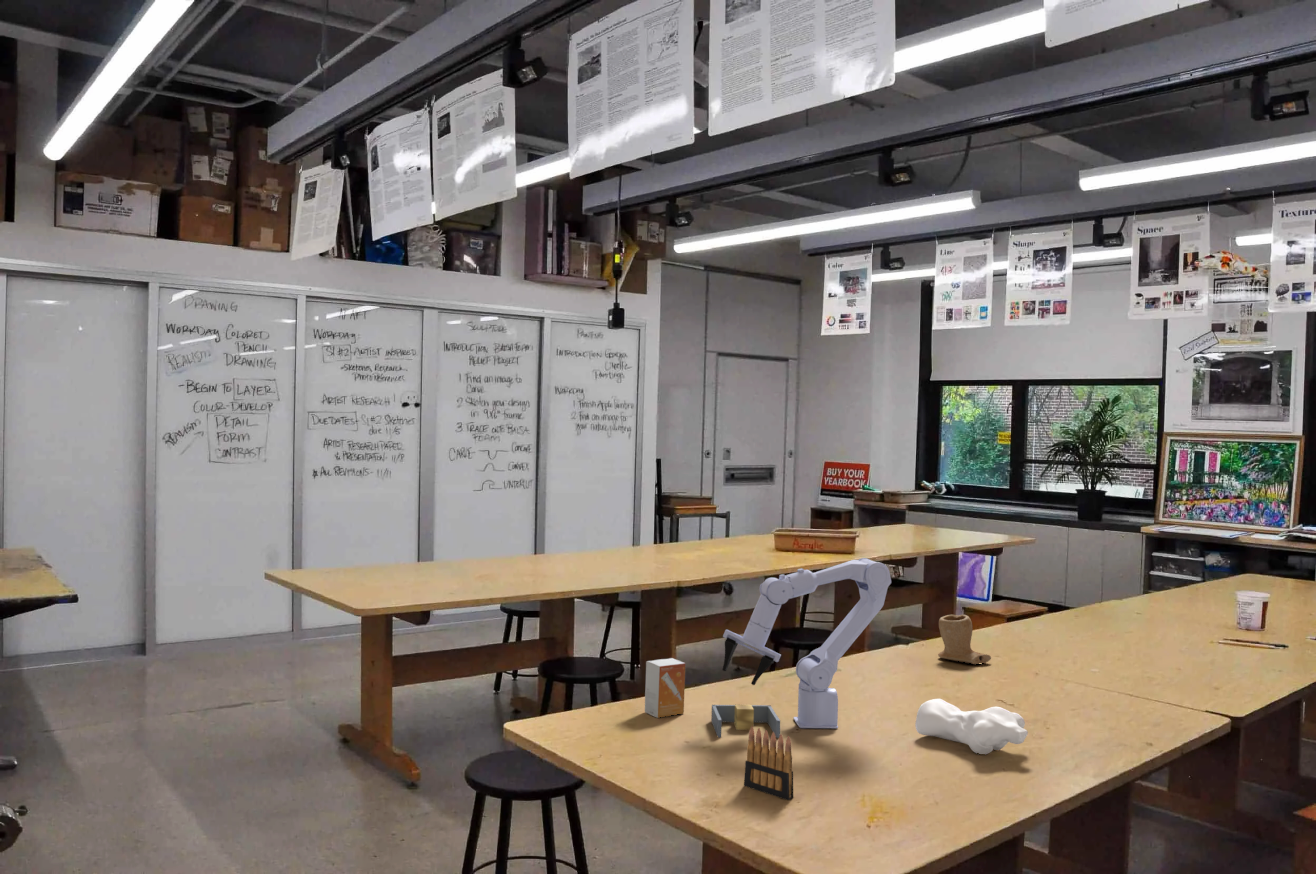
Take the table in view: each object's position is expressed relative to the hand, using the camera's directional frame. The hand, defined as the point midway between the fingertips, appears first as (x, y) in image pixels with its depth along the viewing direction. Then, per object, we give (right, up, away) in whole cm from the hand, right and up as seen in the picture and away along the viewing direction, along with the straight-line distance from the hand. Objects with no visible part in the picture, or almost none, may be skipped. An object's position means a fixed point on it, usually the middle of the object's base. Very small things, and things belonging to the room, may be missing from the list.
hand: (738, 677), depth 232 cm
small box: (-18, -12, +9) cm, 23 cm away
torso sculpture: (+53, -14, -11) cm, 56 cm away
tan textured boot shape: (+78, -14, +76) cm, 110 cm away
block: (+1, -12, 0) cm, 12 cm away
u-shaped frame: (+1, -12, -2) cm, 12 cm away
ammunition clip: (+2, -12, -42) cm, 44 cm away
